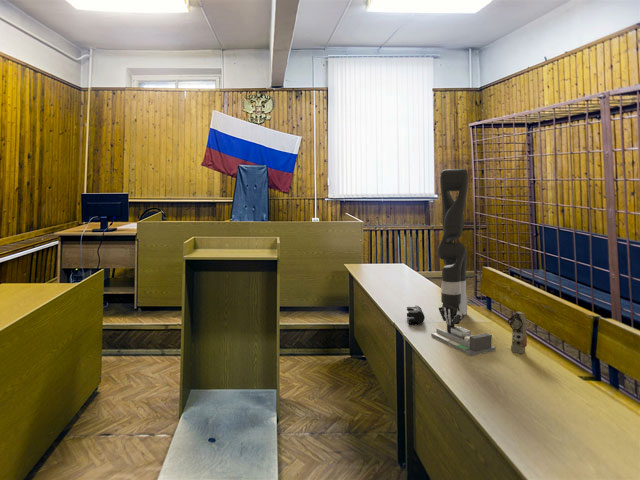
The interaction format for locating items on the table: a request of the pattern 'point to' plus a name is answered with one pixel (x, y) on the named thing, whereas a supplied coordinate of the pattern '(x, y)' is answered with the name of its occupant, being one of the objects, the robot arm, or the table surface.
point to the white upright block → (467, 338)
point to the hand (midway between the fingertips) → (450, 332)
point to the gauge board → (466, 342)
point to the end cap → (415, 315)
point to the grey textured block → (460, 332)
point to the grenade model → (518, 332)
